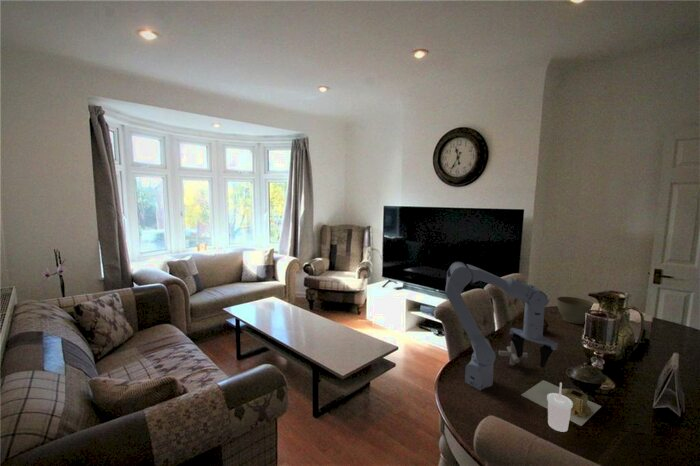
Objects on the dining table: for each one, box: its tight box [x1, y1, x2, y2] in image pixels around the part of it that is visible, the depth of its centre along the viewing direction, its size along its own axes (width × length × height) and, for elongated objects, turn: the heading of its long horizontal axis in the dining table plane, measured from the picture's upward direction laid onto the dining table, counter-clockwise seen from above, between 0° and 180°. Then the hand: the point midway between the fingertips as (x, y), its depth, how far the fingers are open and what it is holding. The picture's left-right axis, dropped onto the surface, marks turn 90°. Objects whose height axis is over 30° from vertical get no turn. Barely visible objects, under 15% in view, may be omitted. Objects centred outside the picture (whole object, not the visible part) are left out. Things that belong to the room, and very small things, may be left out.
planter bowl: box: [556, 296, 595, 325], centre depth 165 cm, size 16×16×11 cm
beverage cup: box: [547, 381, 573, 433], centre depth 88 cm, size 6×6×14 cm
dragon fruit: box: [521, 317, 549, 332], centre depth 154 cm, size 8×8×12 cm
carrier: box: [521, 380, 602, 427], centre depth 100 cm, size 15×17×4 cm
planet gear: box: [566, 387, 591, 417], centre depth 95 cm, size 7×7×5 cm
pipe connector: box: [498, 340, 529, 366], centre depth 121 cm, size 10×10×10 cm
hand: (531, 361), depth 106 cm, fingers open, 7 cm apart
